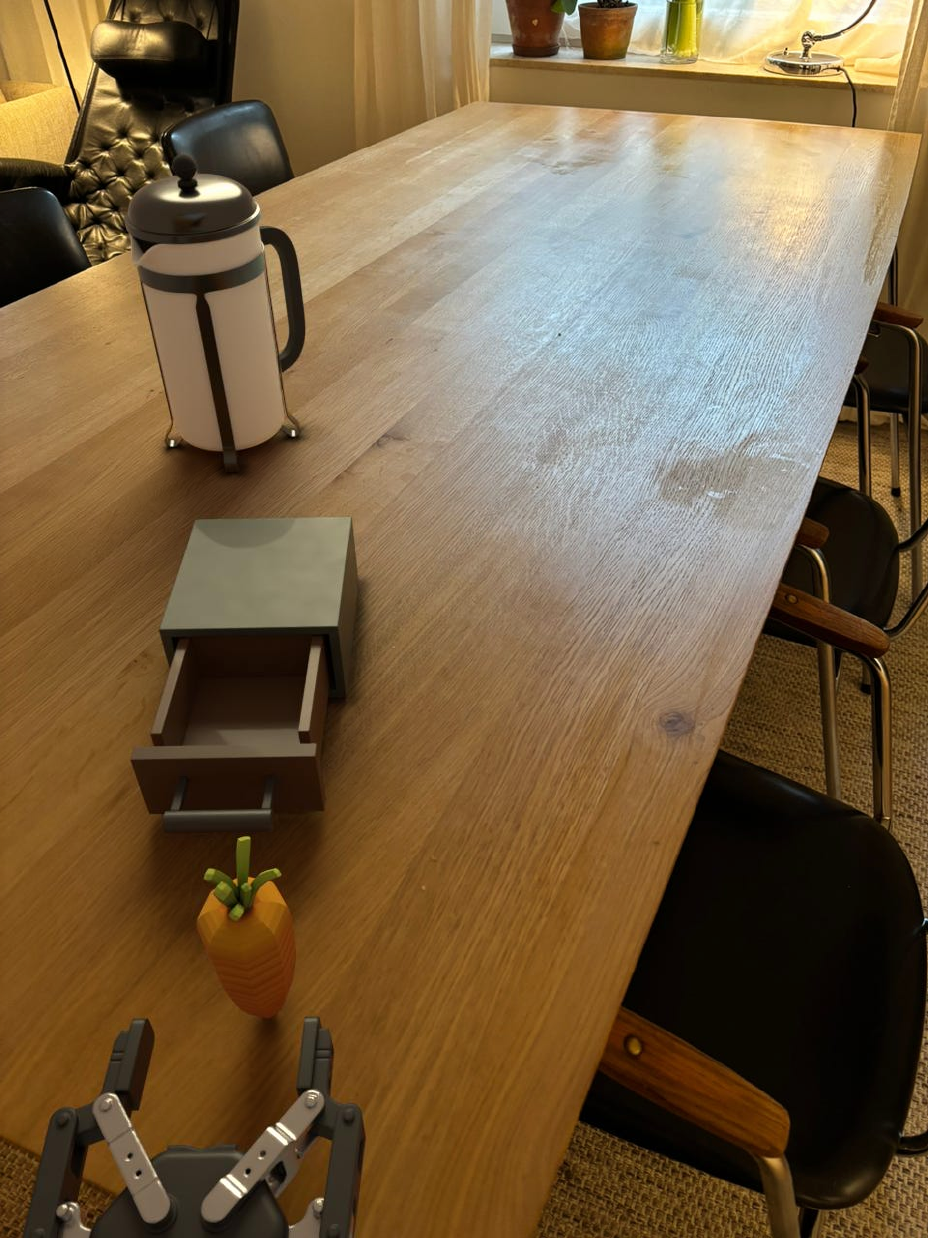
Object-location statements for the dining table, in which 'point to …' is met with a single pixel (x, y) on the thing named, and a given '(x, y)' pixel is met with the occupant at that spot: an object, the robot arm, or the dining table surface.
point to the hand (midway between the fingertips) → (228, 1024)
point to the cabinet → (268, 585)
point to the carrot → (249, 936)
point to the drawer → (237, 734)
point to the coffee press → (215, 308)
